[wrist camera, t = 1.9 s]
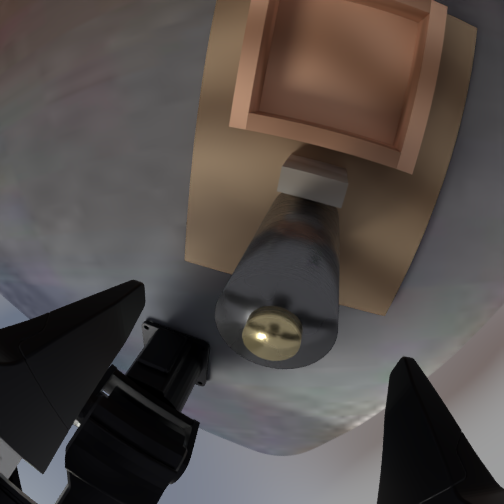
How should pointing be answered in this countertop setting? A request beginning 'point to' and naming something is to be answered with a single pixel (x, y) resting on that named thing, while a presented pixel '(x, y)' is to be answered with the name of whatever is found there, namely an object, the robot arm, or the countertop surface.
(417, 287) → the countertop surface
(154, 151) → the countertop surface
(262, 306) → the cell
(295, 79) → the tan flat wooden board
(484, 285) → the countertop surface
